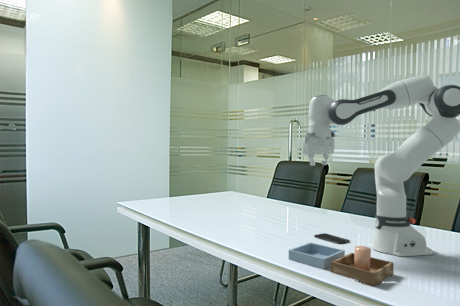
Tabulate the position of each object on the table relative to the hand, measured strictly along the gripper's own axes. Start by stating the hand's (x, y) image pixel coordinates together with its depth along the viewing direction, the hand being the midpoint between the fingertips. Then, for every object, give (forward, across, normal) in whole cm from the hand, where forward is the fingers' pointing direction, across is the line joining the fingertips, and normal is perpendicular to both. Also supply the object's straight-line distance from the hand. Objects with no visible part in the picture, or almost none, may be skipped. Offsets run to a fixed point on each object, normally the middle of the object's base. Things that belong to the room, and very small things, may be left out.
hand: (318, 165), depth 151 cm
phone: (+35, +11, -1) cm, 36 cm away
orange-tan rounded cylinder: (+33, -21, -30) cm, 49 cm away
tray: (+34, -21, -30) cm, 50 cm away
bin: (+34, -20, -12) cm, 42 cm away
